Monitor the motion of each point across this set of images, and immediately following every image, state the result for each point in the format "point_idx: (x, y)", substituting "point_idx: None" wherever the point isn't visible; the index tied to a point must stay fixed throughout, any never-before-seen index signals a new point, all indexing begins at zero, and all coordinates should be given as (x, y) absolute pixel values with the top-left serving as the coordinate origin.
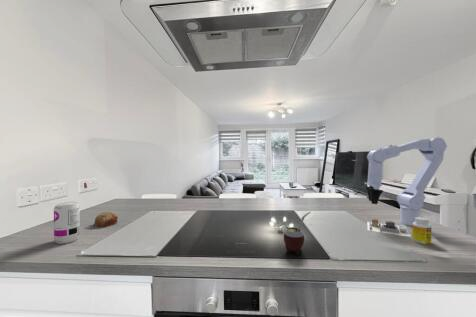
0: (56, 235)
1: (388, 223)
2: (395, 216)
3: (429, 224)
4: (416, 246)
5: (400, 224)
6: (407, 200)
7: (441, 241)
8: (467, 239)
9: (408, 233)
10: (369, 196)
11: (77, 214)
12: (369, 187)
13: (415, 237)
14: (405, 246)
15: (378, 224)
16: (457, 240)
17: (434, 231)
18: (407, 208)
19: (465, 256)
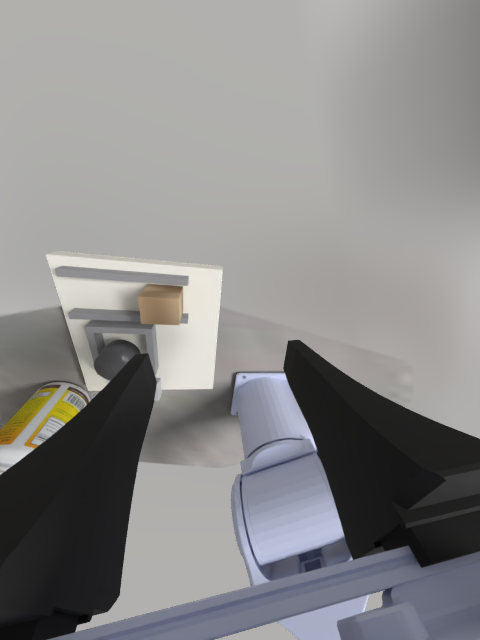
0: None
1: (96, 358)
2: (378, 373)
3: None
4: (38, 385)
5: (156, 389)
6: (253, 511)
7: (147, 431)
8: (201, 463)
9: None
10: (307, 370)
11: None
12: (404, 499)
13: (22, 406)
14: (4, 360)
15: (195, 313)
16: (180, 452)
17: (236, 430)
18: (250, 459)
19: None
